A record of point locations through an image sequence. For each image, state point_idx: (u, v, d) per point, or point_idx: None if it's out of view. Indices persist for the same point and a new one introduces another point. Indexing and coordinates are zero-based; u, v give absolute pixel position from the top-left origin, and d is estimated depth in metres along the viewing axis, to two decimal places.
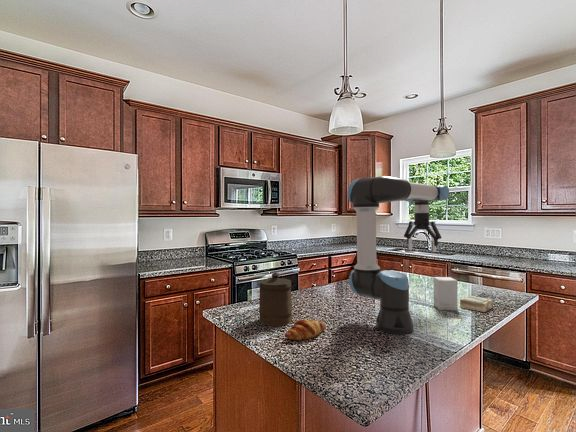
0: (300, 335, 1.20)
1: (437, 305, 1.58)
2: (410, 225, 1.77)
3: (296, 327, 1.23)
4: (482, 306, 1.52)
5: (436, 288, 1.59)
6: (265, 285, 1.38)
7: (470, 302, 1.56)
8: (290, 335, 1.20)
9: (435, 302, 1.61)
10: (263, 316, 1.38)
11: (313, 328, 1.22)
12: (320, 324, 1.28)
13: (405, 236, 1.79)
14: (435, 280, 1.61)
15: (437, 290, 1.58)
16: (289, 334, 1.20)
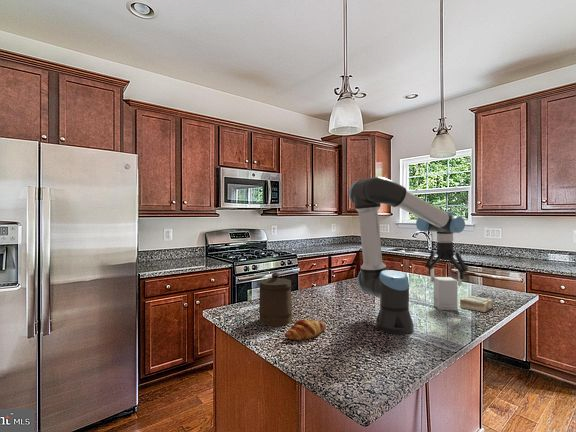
0: (300, 335, 1.20)
1: (437, 305, 1.58)
2: (432, 255, 1.63)
3: (296, 327, 1.23)
4: (482, 306, 1.52)
5: (436, 288, 1.59)
6: (265, 285, 1.38)
7: (470, 302, 1.56)
8: (290, 335, 1.20)
9: (435, 302, 1.61)
10: (263, 316, 1.38)
11: (313, 328, 1.22)
12: (320, 324, 1.29)
13: (426, 266, 1.65)
14: (435, 280, 1.61)
15: (437, 290, 1.58)
16: (289, 334, 1.20)
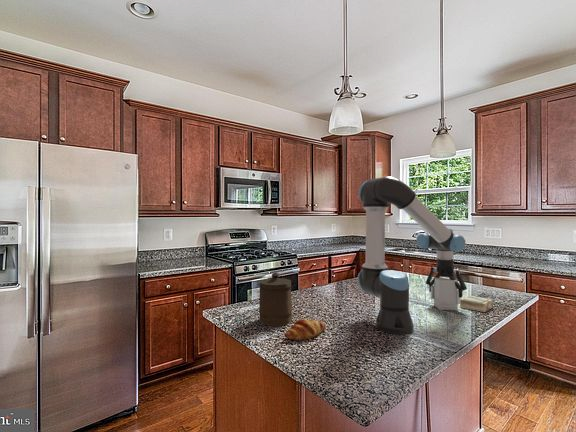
0: (299, 335, 1.21)
1: (437, 305, 1.58)
2: (432, 271, 1.63)
3: (296, 327, 1.23)
4: (482, 306, 1.52)
5: (436, 288, 1.59)
6: (265, 285, 1.38)
7: (470, 302, 1.56)
8: (289, 335, 1.20)
9: (435, 302, 1.61)
10: (263, 316, 1.38)
11: (313, 328, 1.22)
12: (320, 324, 1.29)
13: (427, 283, 1.65)
14: (435, 280, 1.61)
15: (437, 290, 1.58)
16: (288, 334, 1.20)
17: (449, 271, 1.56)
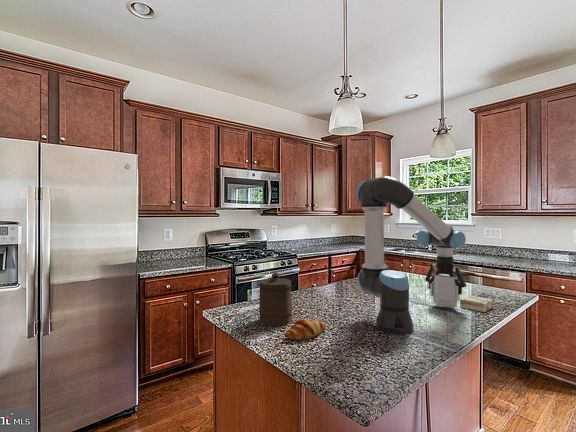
0: (299, 335, 1.21)
1: (436, 302, 1.58)
2: (432, 268, 1.63)
3: (296, 327, 1.23)
4: (482, 306, 1.52)
5: (435, 285, 1.59)
6: (265, 285, 1.38)
7: (470, 302, 1.56)
8: (289, 335, 1.20)
9: (435, 299, 1.60)
10: (263, 316, 1.38)
11: (313, 328, 1.22)
12: (320, 324, 1.29)
13: (426, 280, 1.65)
14: (435, 277, 1.61)
15: (437, 287, 1.57)
16: (288, 334, 1.20)
17: (449, 268, 1.56)
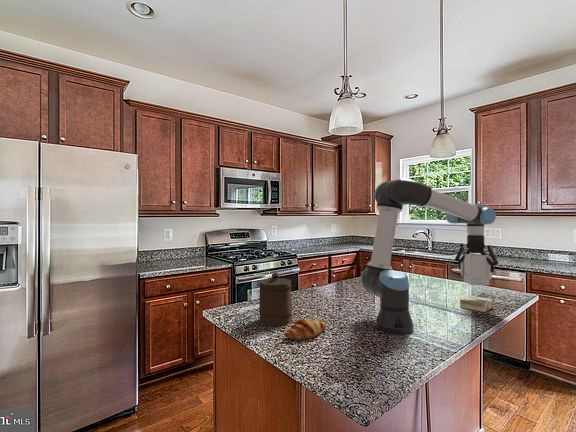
0: (299, 334, 1.21)
1: (468, 281, 1.58)
2: (462, 248, 1.63)
3: (296, 326, 1.23)
4: (482, 306, 1.52)
5: (467, 264, 1.59)
6: (265, 285, 1.38)
7: (470, 302, 1.56)
8: (289, 334, 1.20)
9: (466, 278, 1.60)
10: (263, 316, 1.38)
11: (313, 328, 1.23)
12: (320, 324, 1.29)
13: (456, 260, 1.65)
14: (465, 256, 1.61)
15: (468, 266, 1.58)
16: (288, 333, 1.21)
17: (480, 246, 1.56)
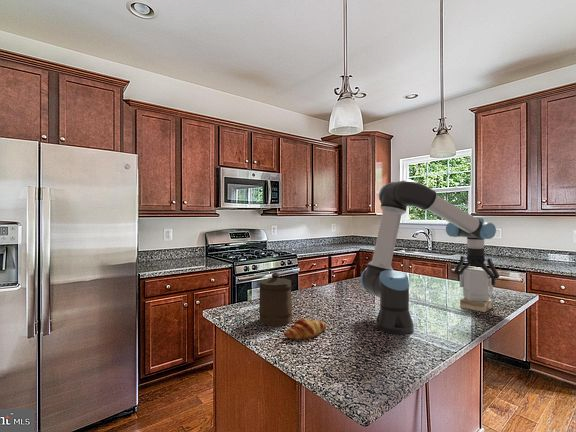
0: (299, 334, 1.21)
1: (467, 296, 1.58)
2: (462, 260, 1.63)
3: (295, 326, 1.23)
4: (482, 306, 1.52)
5: (466, 279, 1.59)
6: (265, 285, 1.38)
7: (470, 302, 1.56)
8: (289, 334, 1.21)
9: (465, 293, 1.61)
10: (263, 316, 1.38)
11: (312, 328, 1.23)
12: (320, 324, 1.29)
13: (456, 272, 1.65)
14: (465, 271, 1.61)
15: (467, 281, 1.58)
16: (288, 333, 1.21)
17: (480, 260, 1.56)
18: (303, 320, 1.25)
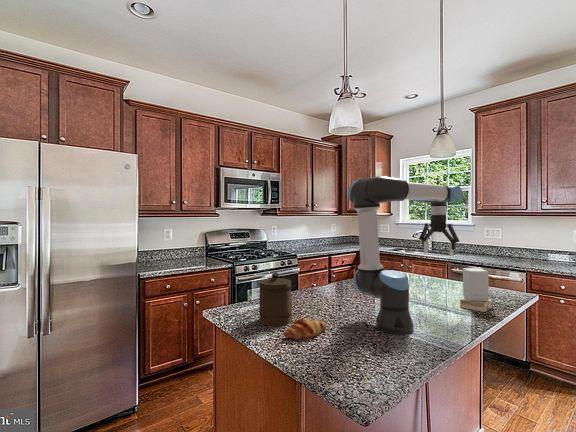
0: (298, 334, 1.21)
1: (467, 296, 1.58)
2: (426, 227, 1.69)
3: (295, 326, 1.24)
4: (482, 306, 1.52)
5: (466, 279, 1.59)
6: (265, 285, 1.38)
7: (470, 302, 1.56)
8: (288, 334, 1.21)
9: (465, 293, 1.61)
10: (263, 316, 1.38)
11: (312, 328, 1.23)
12: (320, 324, 1.29)
13: (420, 239, 1.72)
14: (465, 271, 1.61)
15: (467, 281, 1.58)
16: (287, 333, 1.21)
17: (442, 226, 1.62)
18: (303, 320, 1.25)
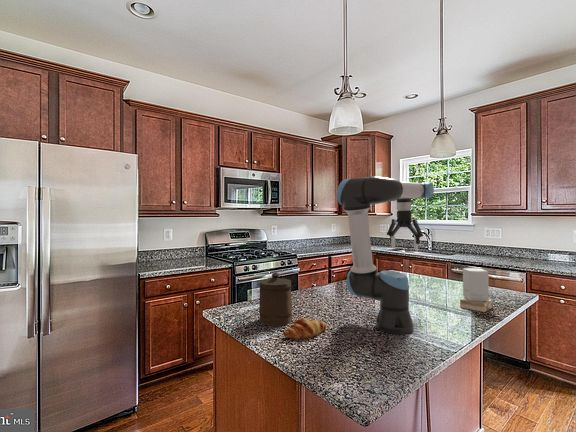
0: (298, 334, 1.22)
1: (467, 296, 1.58)
2: (393, 223, 1.75)
3: (295, 326, 1.24)
4: (482, 306, 1.52)
5: (466, 279, 1.59)
6: (265, 285, 1.38)
7: (470, 302, 1.56)
8: (288, 334, 1.21)
9: (465, 293, 1.61)
10: (263, 316, 1.38)
11: (311, 328, 1.23)
12: (320, 324, 1.29)
13: (388, 234, 1.78)
14: (465, 271, 1.61)
15: (467, 281, 1.58)
16: (287, 332, 1.22)
17: (407, 221, 1.69)
18: (303, 320, 1.26)
